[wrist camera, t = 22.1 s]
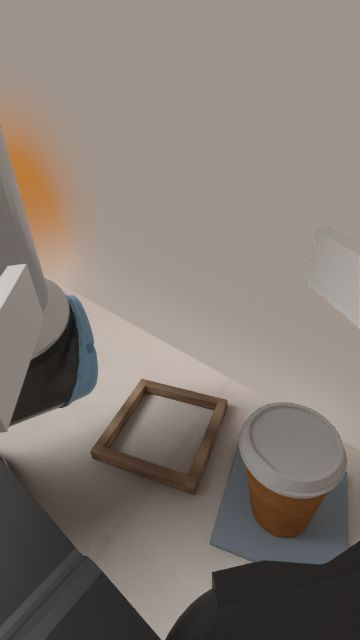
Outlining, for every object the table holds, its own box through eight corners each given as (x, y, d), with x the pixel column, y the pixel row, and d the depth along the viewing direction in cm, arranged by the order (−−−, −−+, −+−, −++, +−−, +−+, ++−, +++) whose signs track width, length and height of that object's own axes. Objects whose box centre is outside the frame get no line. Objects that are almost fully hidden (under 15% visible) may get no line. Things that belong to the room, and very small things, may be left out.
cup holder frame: (194, 495, 39) (194, 488, 38) (92, 458, 44) (90, 451, 43) (227, 407, 50) (227, 400, 49) (142, 385, 55) (141, 378, 54)
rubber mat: (347, 600, 30) (348, 598, 30) (210, 544, 35) (210, 541, 34) (346, 474, 40) (346, 472, 40) (239, 443, 45) (239, 441, 44)
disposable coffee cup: (228, 472, 41) (230, 403, 34) (305, 464, 41) (321, 394, 34) (246, 561, 33) (253, 493, 26) (342, 551, 33) (372, 481, 26)
